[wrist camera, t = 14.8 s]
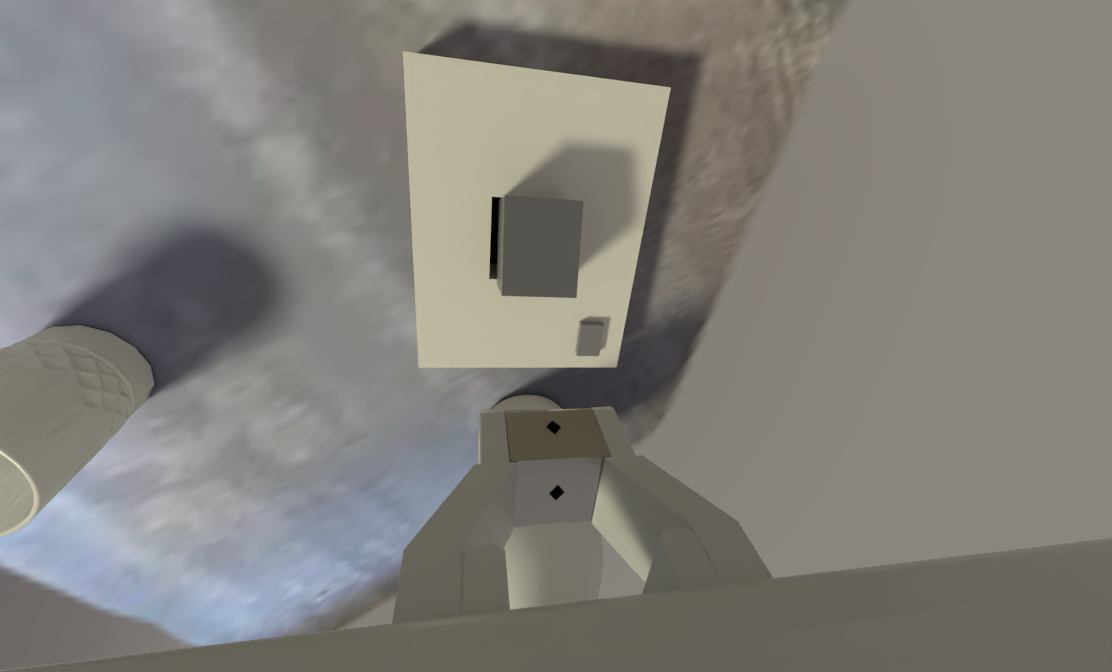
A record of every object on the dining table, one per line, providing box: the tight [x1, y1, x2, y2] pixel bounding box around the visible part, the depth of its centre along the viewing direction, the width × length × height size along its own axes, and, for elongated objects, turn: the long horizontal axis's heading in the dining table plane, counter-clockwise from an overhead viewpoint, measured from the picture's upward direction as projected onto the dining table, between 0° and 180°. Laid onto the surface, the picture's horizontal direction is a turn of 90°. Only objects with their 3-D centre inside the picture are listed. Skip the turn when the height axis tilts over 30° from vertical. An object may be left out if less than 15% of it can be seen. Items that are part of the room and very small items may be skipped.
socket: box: [403, 51, 671, 367], centre depth 27 cm, size 18×14×4 cm
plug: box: [497, 195, 583, 298], centre depth 26 cm, size 5×4×7 cm
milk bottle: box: [479, 395, 603, 610], centre depth 28 cm, size 8×8×20 cm
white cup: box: [0, 325, 154, 536], centre depth 24 cm, size 8×8×10 cm
